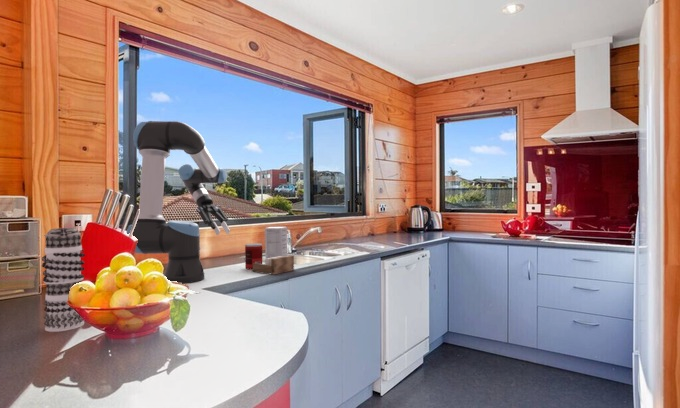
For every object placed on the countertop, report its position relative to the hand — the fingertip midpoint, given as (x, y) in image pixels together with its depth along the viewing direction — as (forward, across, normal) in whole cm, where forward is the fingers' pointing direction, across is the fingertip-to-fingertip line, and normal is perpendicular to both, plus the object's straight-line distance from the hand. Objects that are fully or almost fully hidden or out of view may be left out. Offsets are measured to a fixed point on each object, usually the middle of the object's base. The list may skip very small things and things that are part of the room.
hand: (223, 232), depth 200 cm
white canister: (+18, -26, -4) cm, 32 cm away
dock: (+34, 0, +13) cm, 37 cm away
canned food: (+26, 0, +4) cm, 26 cm away
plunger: (+34, 0, +13) cm, 37 cm away
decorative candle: (+43, +86, +21) cm, 98 cm away
